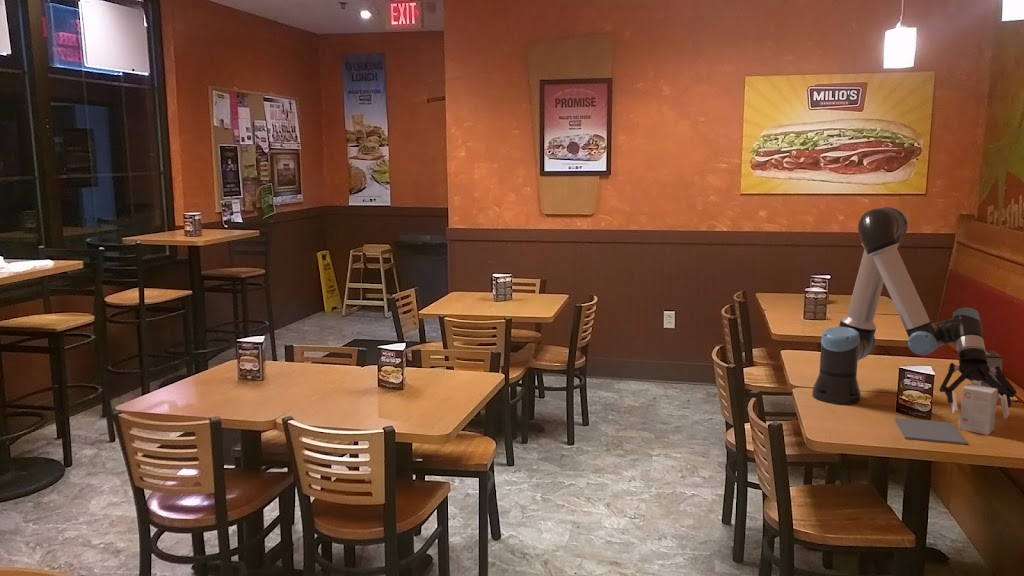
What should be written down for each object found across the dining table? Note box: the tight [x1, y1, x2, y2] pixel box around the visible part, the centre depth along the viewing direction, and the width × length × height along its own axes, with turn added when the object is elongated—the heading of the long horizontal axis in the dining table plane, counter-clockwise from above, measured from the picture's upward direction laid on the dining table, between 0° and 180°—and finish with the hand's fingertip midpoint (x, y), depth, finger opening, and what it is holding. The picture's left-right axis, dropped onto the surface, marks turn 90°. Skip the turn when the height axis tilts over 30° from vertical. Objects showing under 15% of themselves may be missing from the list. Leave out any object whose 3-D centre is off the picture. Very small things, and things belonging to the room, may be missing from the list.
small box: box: [958, 383, 998, 436], centre depth 236 cm, size 8×6×13 cm
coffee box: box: [970, 349, 1004, 404], centre depth 266 cm, size 9×6×16 cm
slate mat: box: [893, 417, 968, 445], centre depth 235 cm, size 16×18×1 cm
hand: (980, 414), depth 234 cm, fingers open, 13 cm apart
